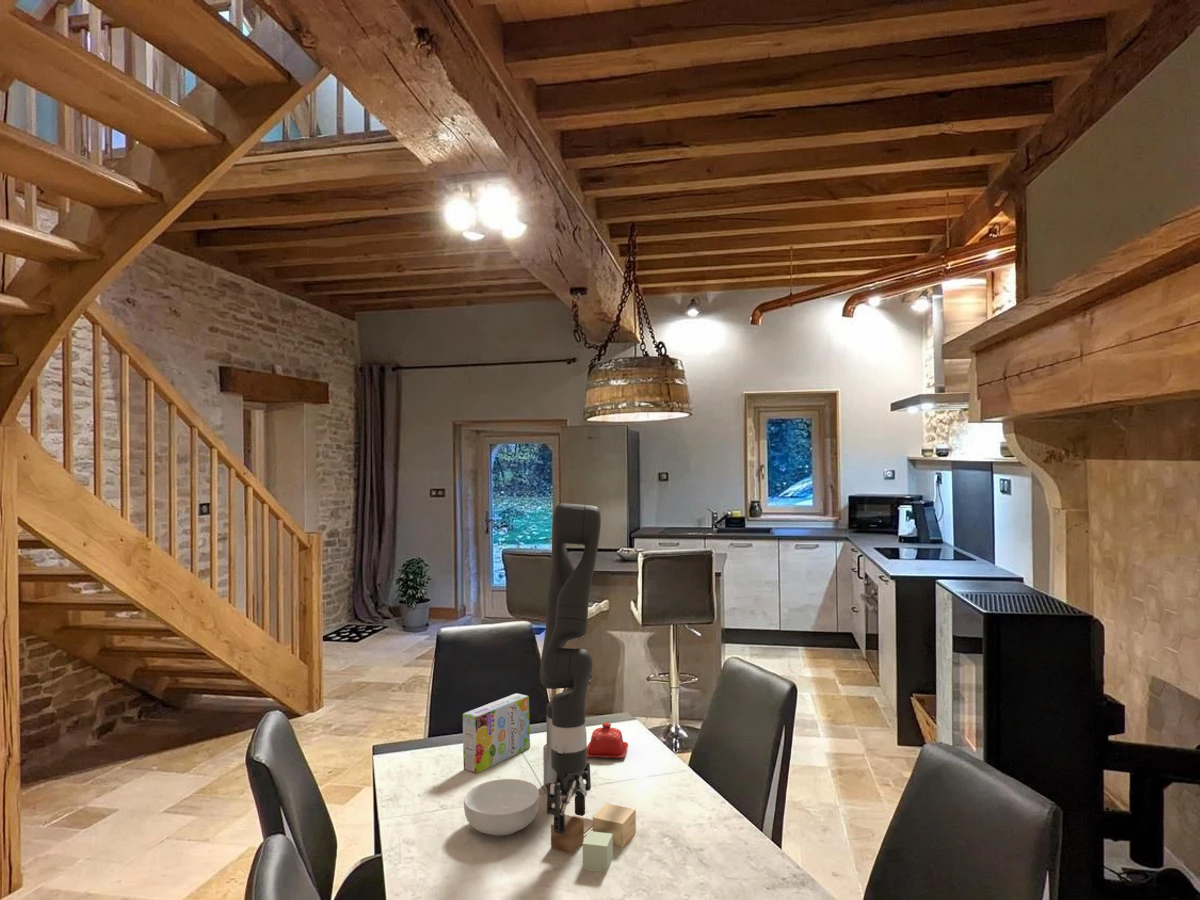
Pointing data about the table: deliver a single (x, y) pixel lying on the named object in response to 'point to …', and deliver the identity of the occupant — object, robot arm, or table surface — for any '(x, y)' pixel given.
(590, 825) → the walnut swatch
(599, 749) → the butter dish
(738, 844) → the table surface
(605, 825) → the oak base block
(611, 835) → the sage cube
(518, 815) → the cereal bowl
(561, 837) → the walnut cube
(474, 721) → the snack box
